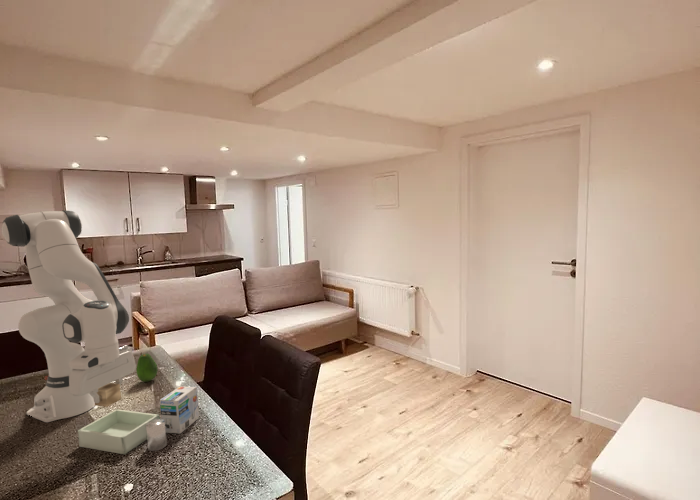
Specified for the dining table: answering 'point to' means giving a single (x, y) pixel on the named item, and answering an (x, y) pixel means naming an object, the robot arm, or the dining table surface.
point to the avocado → (146, 368)
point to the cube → (109, 394)
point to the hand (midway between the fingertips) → (107, 397)
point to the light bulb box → (179, 409)
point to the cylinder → (156, 434)
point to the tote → (116, 431)
